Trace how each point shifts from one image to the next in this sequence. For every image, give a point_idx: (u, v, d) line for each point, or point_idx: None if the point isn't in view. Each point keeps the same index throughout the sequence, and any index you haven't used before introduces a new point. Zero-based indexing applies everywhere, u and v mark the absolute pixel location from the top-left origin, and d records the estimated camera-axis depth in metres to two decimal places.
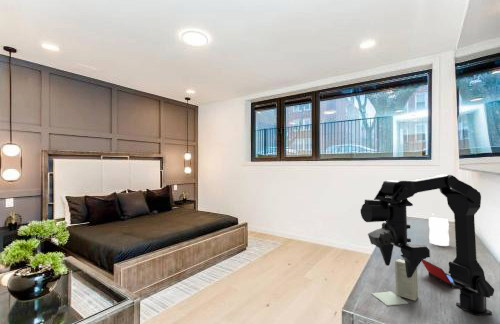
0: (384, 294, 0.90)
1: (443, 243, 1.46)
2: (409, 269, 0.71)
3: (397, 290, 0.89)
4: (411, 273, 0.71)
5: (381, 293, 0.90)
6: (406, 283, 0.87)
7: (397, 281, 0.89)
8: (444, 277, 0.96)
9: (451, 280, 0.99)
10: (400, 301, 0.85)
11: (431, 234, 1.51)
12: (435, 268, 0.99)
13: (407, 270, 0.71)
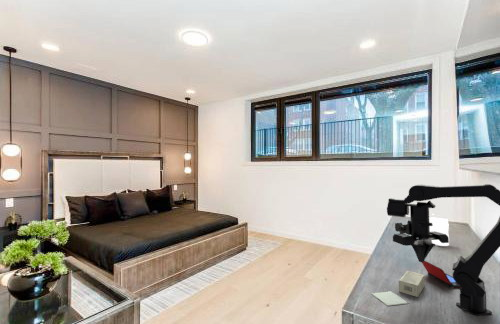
0: (384, 294, 0.90)
1: (443, 243, 1.46)
2: (417, 254, 0.90)
3: (401, 279, 0.93)
4: (419, 258, 0.89)
5: (381, 293, 0.90)
6: (412, 278, 0.93)
7: (404, 276, 0.95)
8: (444, 277, 0.96)
9: (450, 280, 0.99)
10: (400, 301, 0.85)
11: None
12: (435, 268, 0.99)
13: None
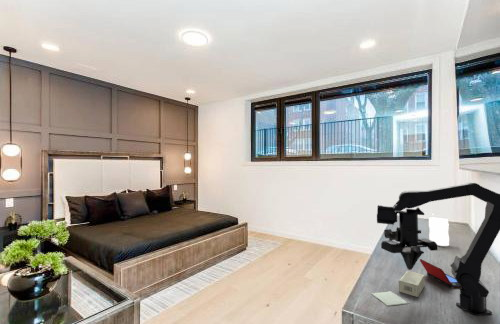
0: (384, 294, 0.90)
1: (443, 243, 1.46)
2: (405, 261, 0.89)
3: (401, 279, 0.93)
4: (408, 265, 0.89)
5: (381, 293, 0.90)
6: (412, 278, 0.93)
7: (404, 276, 0.95)
8: (444, 277, 0.96)
9: (450, 280, 0.99)
10: (400, 301, 0.85)
11: (431, 234, 1.51)
12: (434, 268, 0.98)
13: None
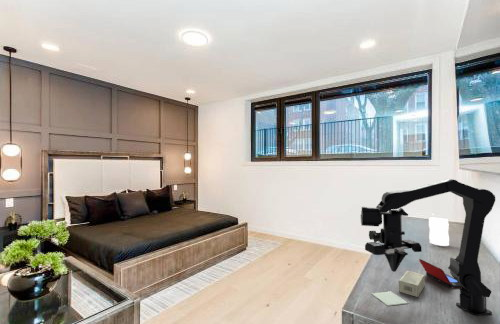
0: (384, 294, 0.90)
1: (443, 243, 1.46)
2: (389, 263, 0.88)
3: (401, 279, 0.93)
4: (392, 267, 0.87)
5: (381, 293, 0.90)
6: (412, 278, 0.93)
7: (404, 276, 0.95)
8: (443, 277, 0.96)
9: (449, 280, 0.99)
10: (400, 301, 0.85)
11: (431, 234, 1.51)
12: (434, 268, 0.98)
13: None
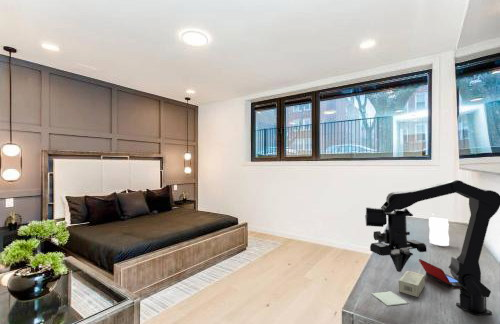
0: (384, 294, 0.90)
1: (443, 243, 1.46)
2: (395, 263, 0.88)
3: (401, 279, 0.93)
4: (397, 268, 0.88)
5: (381, 293, 0.90)
6: (412, 278, 0.93)
7: (404, 276, 0.95)
8: (443, 277, 0.96)
9: (449, 280, 0.99)
10: (400, 301, 0.85)
11: (431, 234, 1.51)
12: (434, 268, 0.98)
13: None
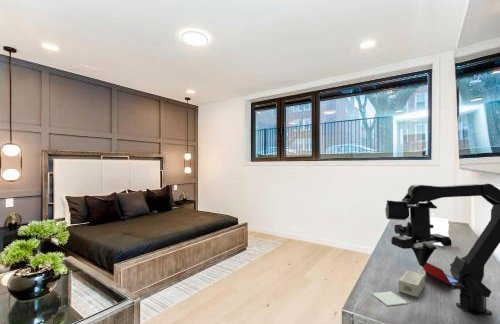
0: (384, 294, 0.90)
1: None
2: (417, 257, 0.86)
3: (401, 279, 0.93)
4: (420, 262, 0.85)
5: (381, 293, 0.90)
6: (412, 278, 0.93)
7: (404, 276, 0.95)
8: (443, 277, 0.96)
9: (449, 280, 0.99)
10: (400, 301, 0.85)
11: None
12: (434, 268, 0.98)
13: None
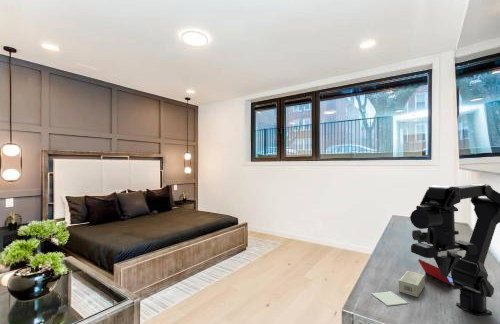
0: (384, 294, 0.90)
1: None
2: (440, 267, 0.77)
3: (401, 279, 0.93)
4: (443, 272, 0.76)
5: (381, 293, 0.90)
6: (412, 278, 0.93)
7: (404, 276, 0.95)
8: (443, 277, 0.96)
9: (449, 280, 0.99)
10: (400, 301, 0.85)
11: None
12: (434, 269, 0.98)
13: None
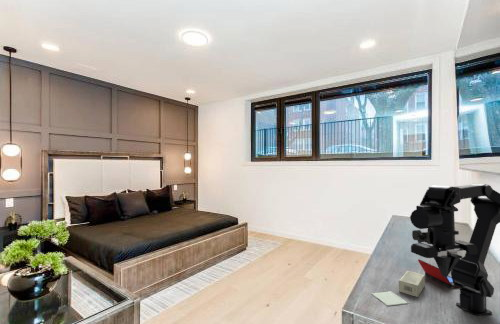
0: (384, 294, 0.90)
1: None
2: (440, 267, 0.77)
3: (401, 279, 0.93)
4: (443, 272, 0.76)
5: (381, 293, 0.90)
6: (412, 278, 0.93)
7: (404, 276, 0.95)
8: (443, 277, 0.96)
9: (448, 280, 0.99)
10: (400, 301, 0.85)
11: None
12: (434, 269, 0.98)
13: None
